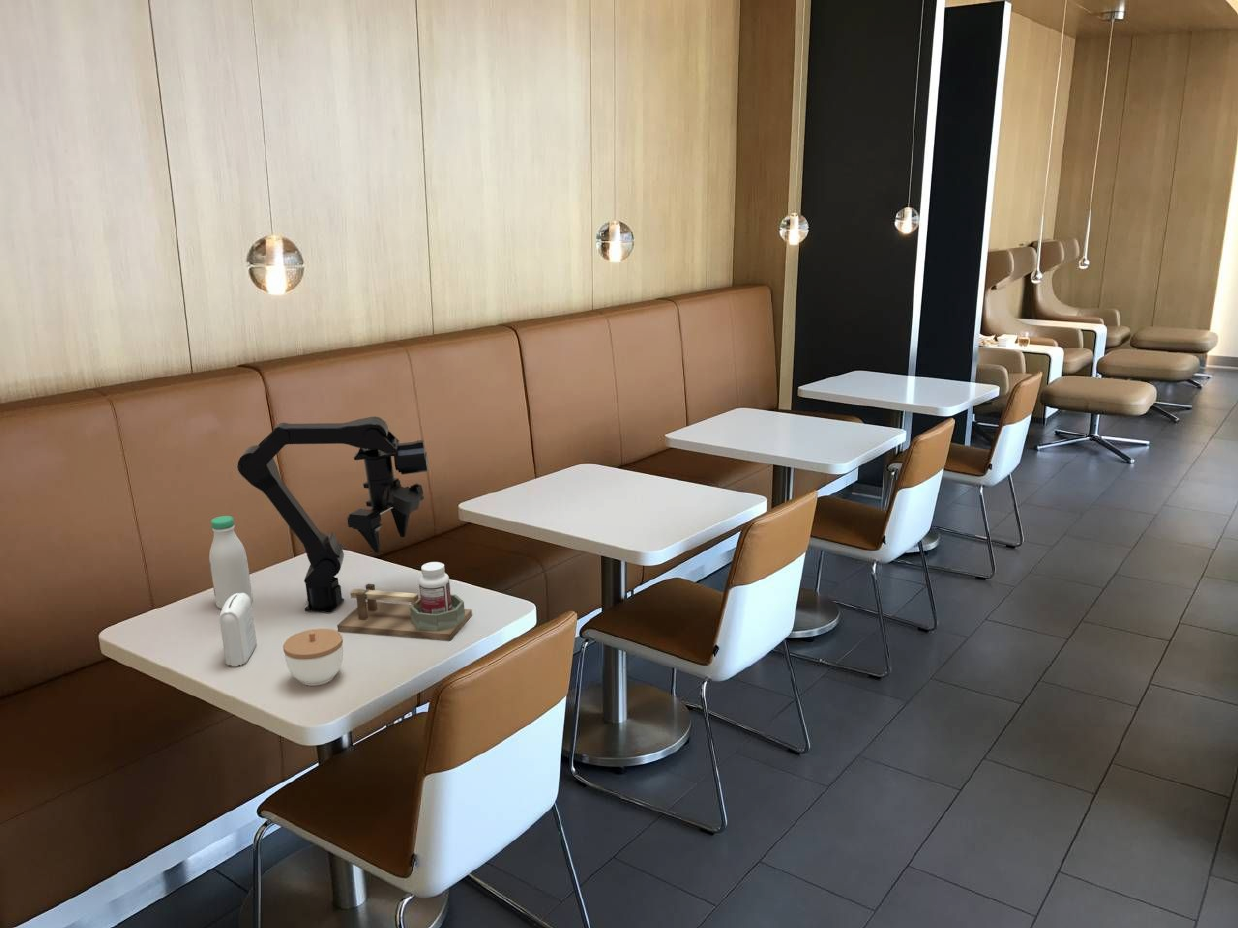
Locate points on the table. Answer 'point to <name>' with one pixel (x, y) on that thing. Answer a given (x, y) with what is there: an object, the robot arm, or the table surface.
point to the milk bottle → (228, 562)
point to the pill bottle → (434, 589)
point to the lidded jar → (314, 655)
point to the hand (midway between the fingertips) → (390, 544)
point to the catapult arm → (417, 617)
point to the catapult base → (390, 620)
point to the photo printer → (237, 629)
